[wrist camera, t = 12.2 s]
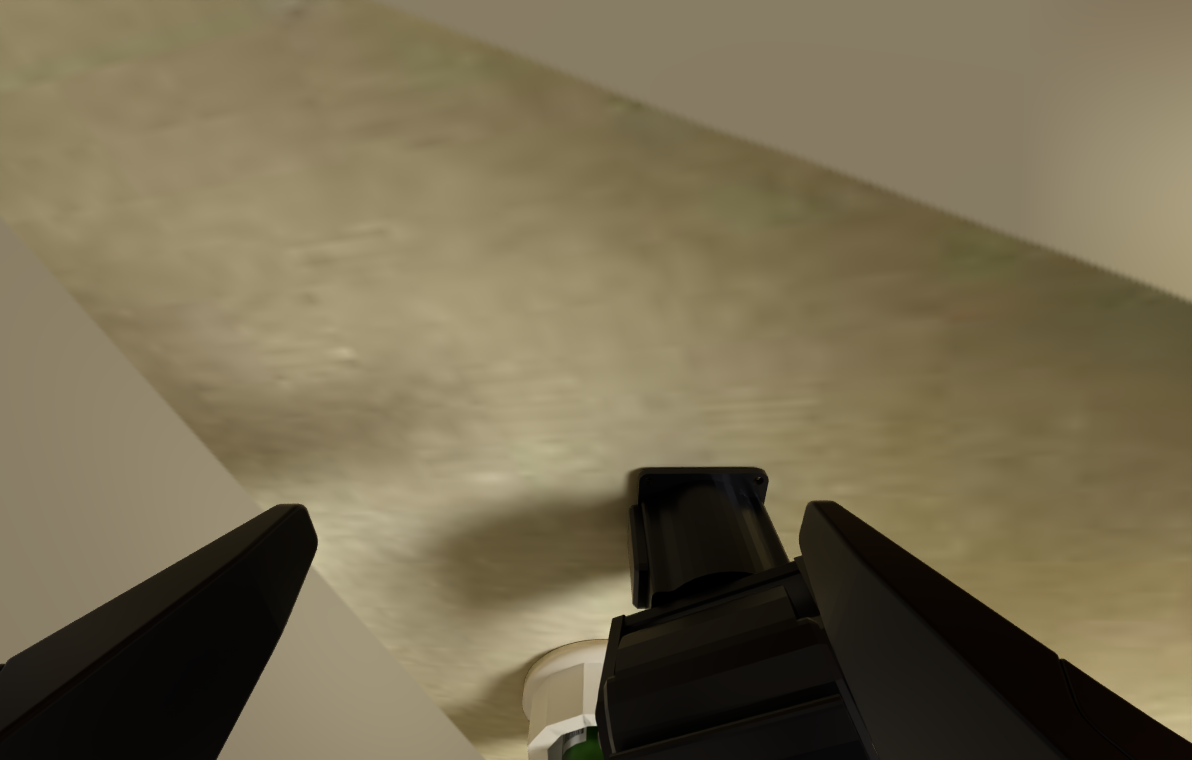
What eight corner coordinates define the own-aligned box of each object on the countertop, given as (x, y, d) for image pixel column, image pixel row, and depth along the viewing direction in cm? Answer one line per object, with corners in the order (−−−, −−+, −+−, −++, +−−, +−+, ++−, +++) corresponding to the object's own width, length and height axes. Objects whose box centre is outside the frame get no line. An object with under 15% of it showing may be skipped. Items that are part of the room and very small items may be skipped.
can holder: (689, 639, 30) (701, 706, 27) (677, 733, 35) (686, 800, 32) (518, 639, 30) (507, 706, 27) (530, 734, 35) (522, 800, 32)
